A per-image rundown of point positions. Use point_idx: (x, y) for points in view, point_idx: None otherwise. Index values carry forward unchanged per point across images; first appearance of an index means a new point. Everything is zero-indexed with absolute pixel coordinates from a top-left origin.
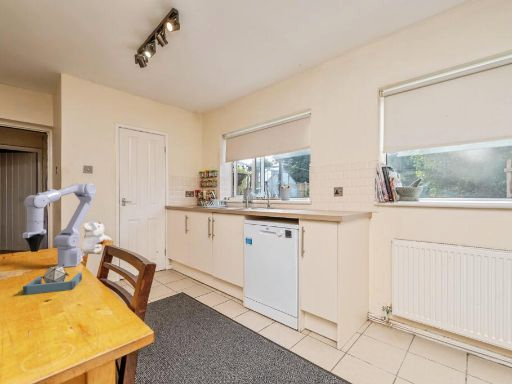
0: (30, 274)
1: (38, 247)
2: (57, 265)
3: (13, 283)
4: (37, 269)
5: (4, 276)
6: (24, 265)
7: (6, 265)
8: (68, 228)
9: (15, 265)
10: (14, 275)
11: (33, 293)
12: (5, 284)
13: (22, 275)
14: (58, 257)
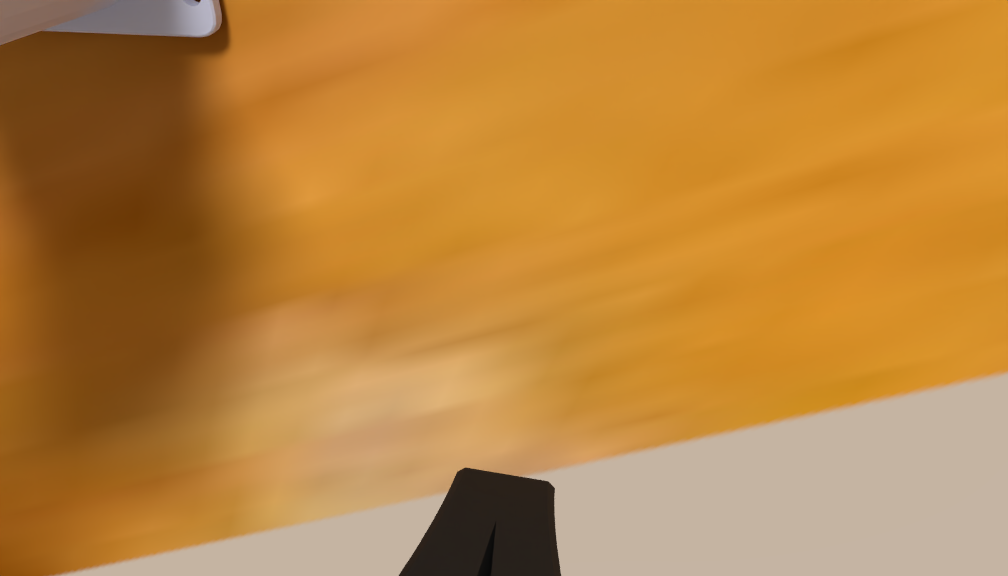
0: (516, 261)
1: (485, 564)
2: (102, 9)
3: (938, 317)
4: (251, 258)
5: None
6: (41, 443)
7: (44, 567)
8: None
9: (43, 510)
10: (489, 413)
11: None
12: (920, 384)
13: (529, 336)
14: (17, 12)
